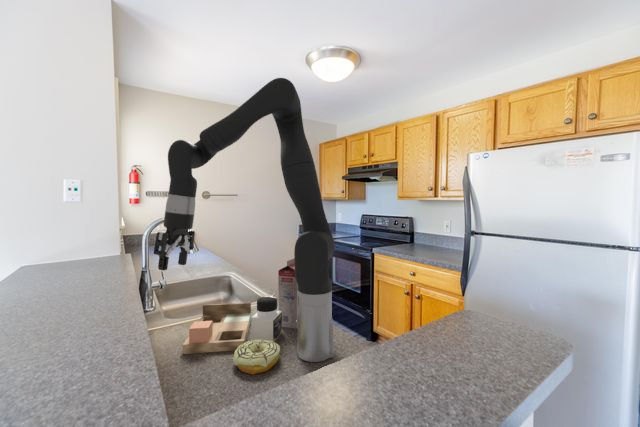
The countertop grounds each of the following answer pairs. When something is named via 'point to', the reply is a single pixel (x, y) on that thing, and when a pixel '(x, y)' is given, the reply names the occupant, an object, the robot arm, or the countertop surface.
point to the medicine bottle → (266, 320)
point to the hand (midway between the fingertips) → (172, 267)
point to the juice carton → (288, 295)
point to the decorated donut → (256, 356)
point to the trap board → (223, 328)
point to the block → (200, 331)
